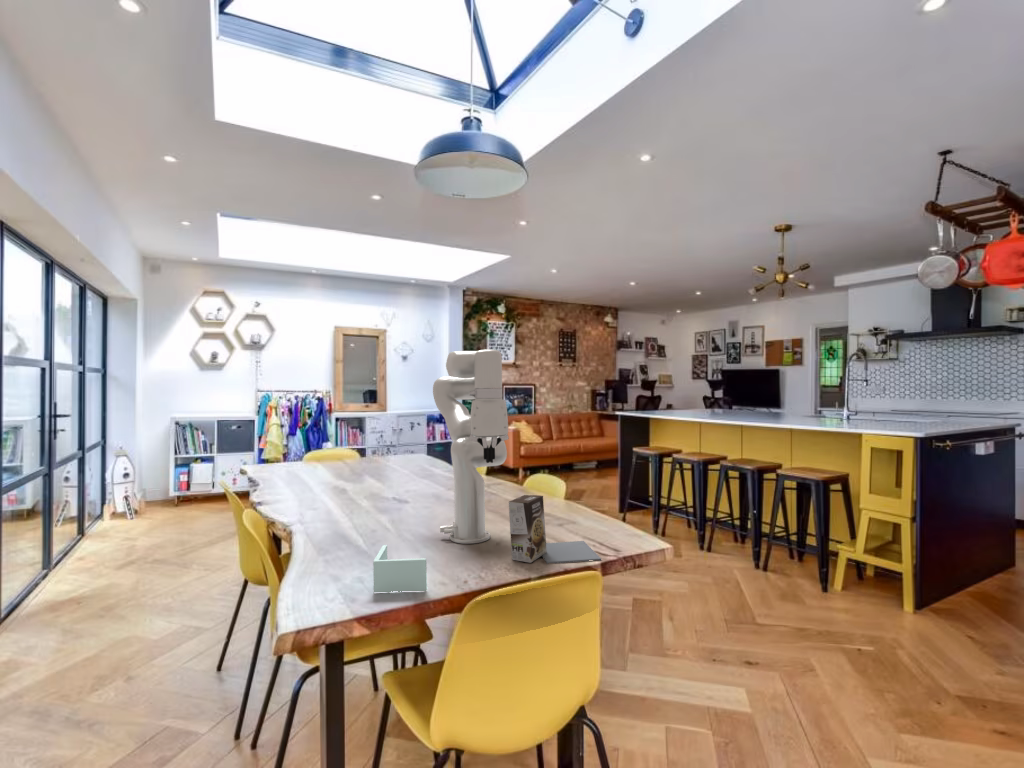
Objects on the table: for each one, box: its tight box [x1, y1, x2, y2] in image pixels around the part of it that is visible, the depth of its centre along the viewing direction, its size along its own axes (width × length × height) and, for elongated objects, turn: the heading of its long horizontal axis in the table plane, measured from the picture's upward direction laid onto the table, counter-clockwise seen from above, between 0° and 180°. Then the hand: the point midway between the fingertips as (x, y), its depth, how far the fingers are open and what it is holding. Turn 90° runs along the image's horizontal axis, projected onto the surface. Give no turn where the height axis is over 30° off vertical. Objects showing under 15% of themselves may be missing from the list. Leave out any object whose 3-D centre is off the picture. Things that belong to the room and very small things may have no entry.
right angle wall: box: [372, 544, 428, 593], centre depth 123 cm, size 12×12×8 cm
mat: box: [541, 540, 602, 565], centre depth 144 cm, size 15×16×1 cm
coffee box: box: [508, 494, 547, 563], centre depth 140 cm, size 9×6×16 cm
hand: (489, 462), depth 138 cm, fingers closed
